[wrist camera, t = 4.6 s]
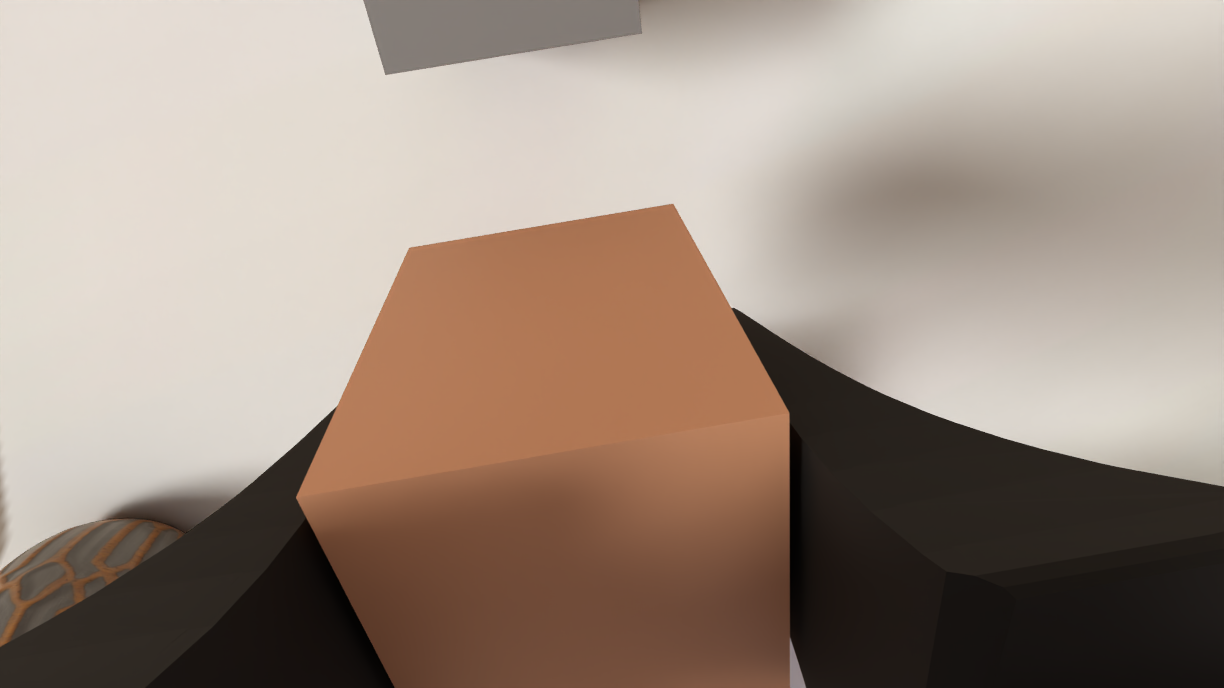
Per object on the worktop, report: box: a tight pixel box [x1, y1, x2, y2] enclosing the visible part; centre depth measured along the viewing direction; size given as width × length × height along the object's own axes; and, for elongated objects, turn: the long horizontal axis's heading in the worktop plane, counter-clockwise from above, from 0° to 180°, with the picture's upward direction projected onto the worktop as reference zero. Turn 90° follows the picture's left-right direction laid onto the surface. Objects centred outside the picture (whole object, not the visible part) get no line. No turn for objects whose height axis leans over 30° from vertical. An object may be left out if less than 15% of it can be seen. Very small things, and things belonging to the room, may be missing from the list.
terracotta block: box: [296, 204, 790, 688], centre depth 10 cm, size 4×4×6 cm
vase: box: [0, 519, 185, 647], centre depth 20 cm, size 7×7×9 cm
